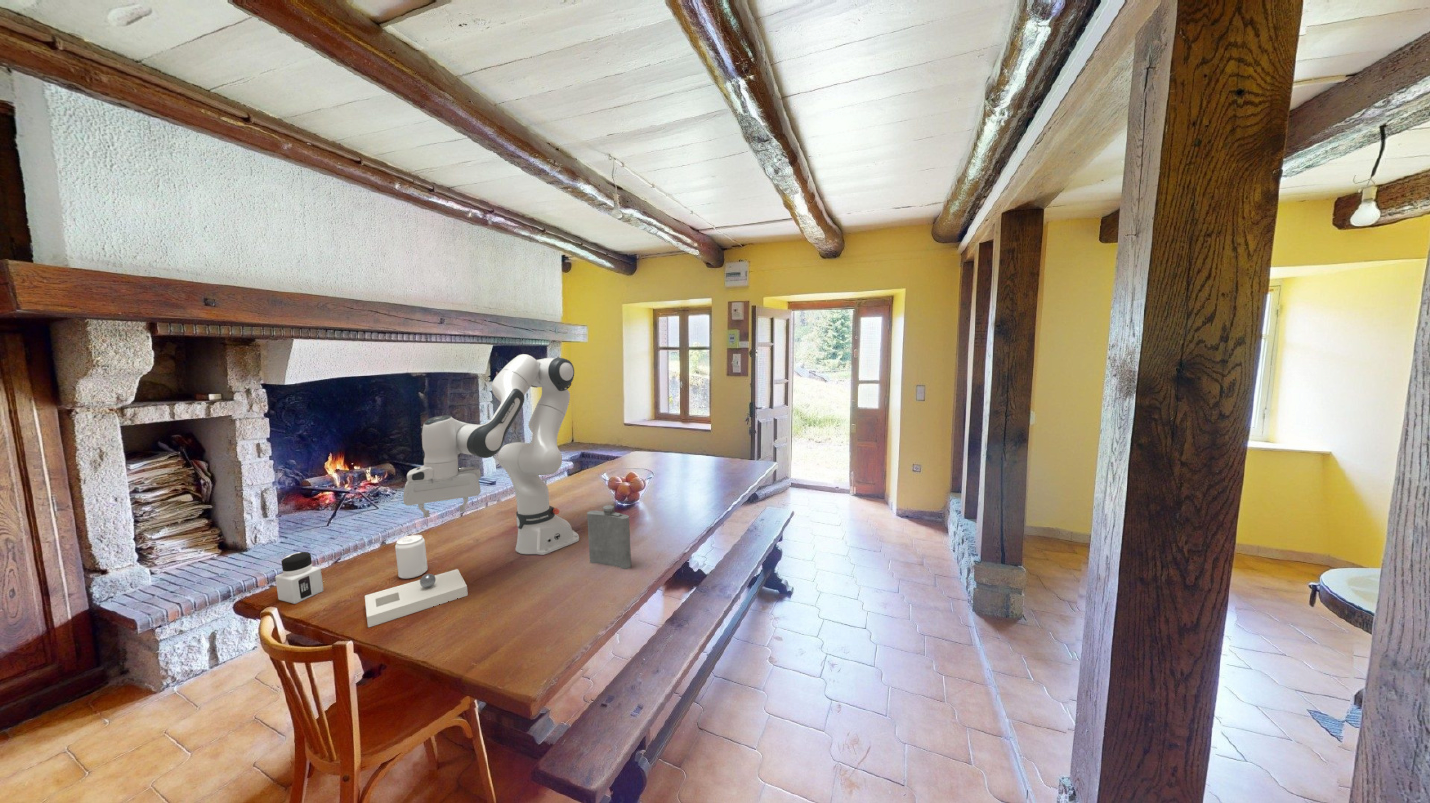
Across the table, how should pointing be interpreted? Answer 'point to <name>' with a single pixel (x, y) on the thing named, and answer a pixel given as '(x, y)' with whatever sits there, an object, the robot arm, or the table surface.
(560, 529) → the robot arm
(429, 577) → the steel ball
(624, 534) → the hip flask
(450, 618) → the table surface
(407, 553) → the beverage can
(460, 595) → the hole board
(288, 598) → the container
